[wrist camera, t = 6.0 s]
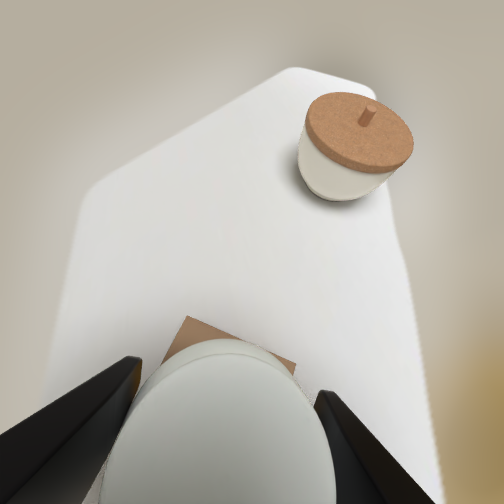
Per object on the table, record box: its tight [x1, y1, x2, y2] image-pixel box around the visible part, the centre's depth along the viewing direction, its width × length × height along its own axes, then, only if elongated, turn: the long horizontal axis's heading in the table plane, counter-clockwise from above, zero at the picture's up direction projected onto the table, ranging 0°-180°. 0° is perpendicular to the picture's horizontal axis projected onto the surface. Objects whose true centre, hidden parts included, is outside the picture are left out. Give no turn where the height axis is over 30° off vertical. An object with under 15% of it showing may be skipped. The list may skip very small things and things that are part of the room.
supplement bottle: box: [98, 339, 336, 504], centre depth 8 cm, size 5×5×10 cm
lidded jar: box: [298, 92, 414, 201], centre depth 26 cm, size 11×11×9 cm
